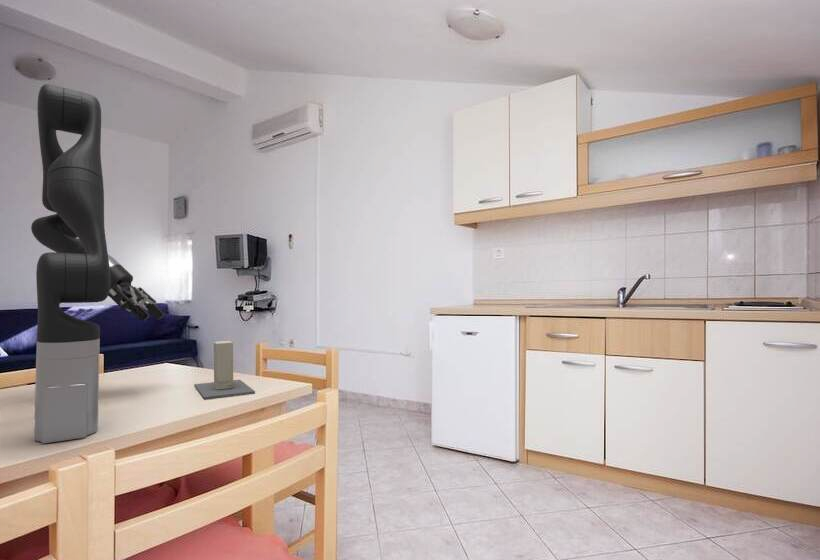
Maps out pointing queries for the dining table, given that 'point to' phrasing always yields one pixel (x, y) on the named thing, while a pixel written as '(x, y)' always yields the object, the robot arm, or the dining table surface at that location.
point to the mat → (223, 390)
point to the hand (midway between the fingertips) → (154, 318)
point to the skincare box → (223, 365)
